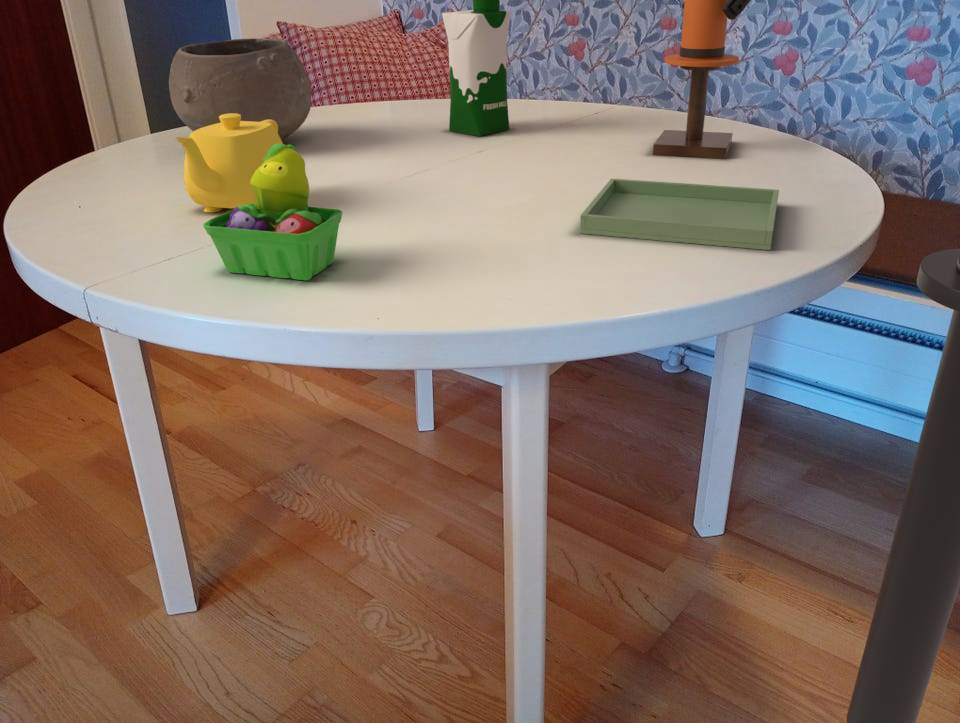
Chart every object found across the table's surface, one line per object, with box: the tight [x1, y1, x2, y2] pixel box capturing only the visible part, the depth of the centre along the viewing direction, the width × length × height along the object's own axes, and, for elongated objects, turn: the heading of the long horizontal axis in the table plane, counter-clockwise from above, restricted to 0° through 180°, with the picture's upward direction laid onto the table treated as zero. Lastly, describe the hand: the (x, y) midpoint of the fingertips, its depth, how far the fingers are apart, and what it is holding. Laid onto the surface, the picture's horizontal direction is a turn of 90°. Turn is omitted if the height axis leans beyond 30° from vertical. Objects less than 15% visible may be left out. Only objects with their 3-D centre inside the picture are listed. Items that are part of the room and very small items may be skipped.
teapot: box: [174, 113, 284, 213], centre depth 96 cm, size 18×11×11 cm, turn 159°
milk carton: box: [441, 0, 512, 137], centre depth 130 cm, size 9×9×20 cm
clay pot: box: [168, 38, 312, 141], centre depth 126 cm, size 21×21×15 cm
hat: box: [663, 0, 740, 67], centre depth 112 cm, size 10×10×9 cm
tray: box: [579, 178, 780, 251], centre depth 90 cm, size 19×15×2 cm
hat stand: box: [652, 66, 733, 160], centre depth 117 cm, size 10×10×12 cm
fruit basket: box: [202, 143, 343, 281], centre depth 78 cm, size 11×9×11 cm
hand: (706, 13), depth 111 cm, fingers open, 8 cm apart
